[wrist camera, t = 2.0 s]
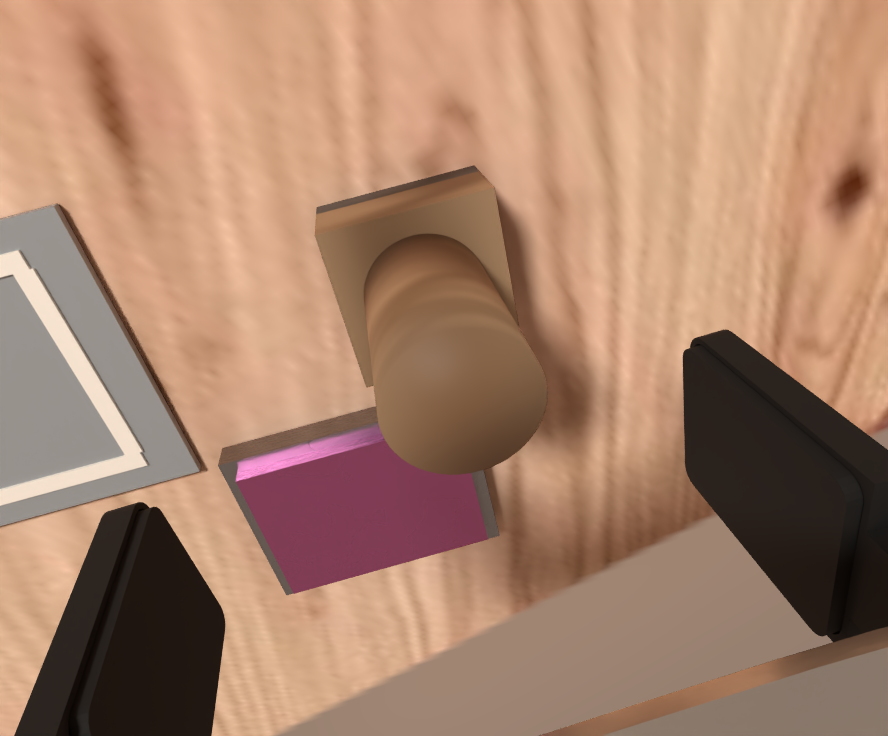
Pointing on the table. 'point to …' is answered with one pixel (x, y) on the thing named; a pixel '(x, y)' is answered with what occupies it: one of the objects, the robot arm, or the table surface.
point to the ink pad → (349, 502)
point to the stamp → (435, 320)
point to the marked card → (72, 381)
